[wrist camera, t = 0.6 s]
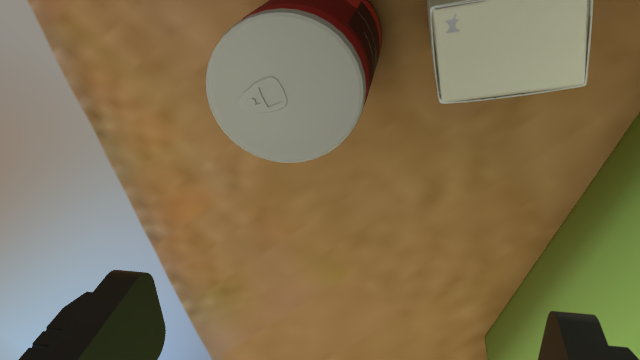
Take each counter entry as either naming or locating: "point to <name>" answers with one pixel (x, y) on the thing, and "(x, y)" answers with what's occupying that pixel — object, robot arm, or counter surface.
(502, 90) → the skincare box
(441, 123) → the counter surface
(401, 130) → the counter surface
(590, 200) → the canister
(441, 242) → the counter surface
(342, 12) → the canned food
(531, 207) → the counter surface
